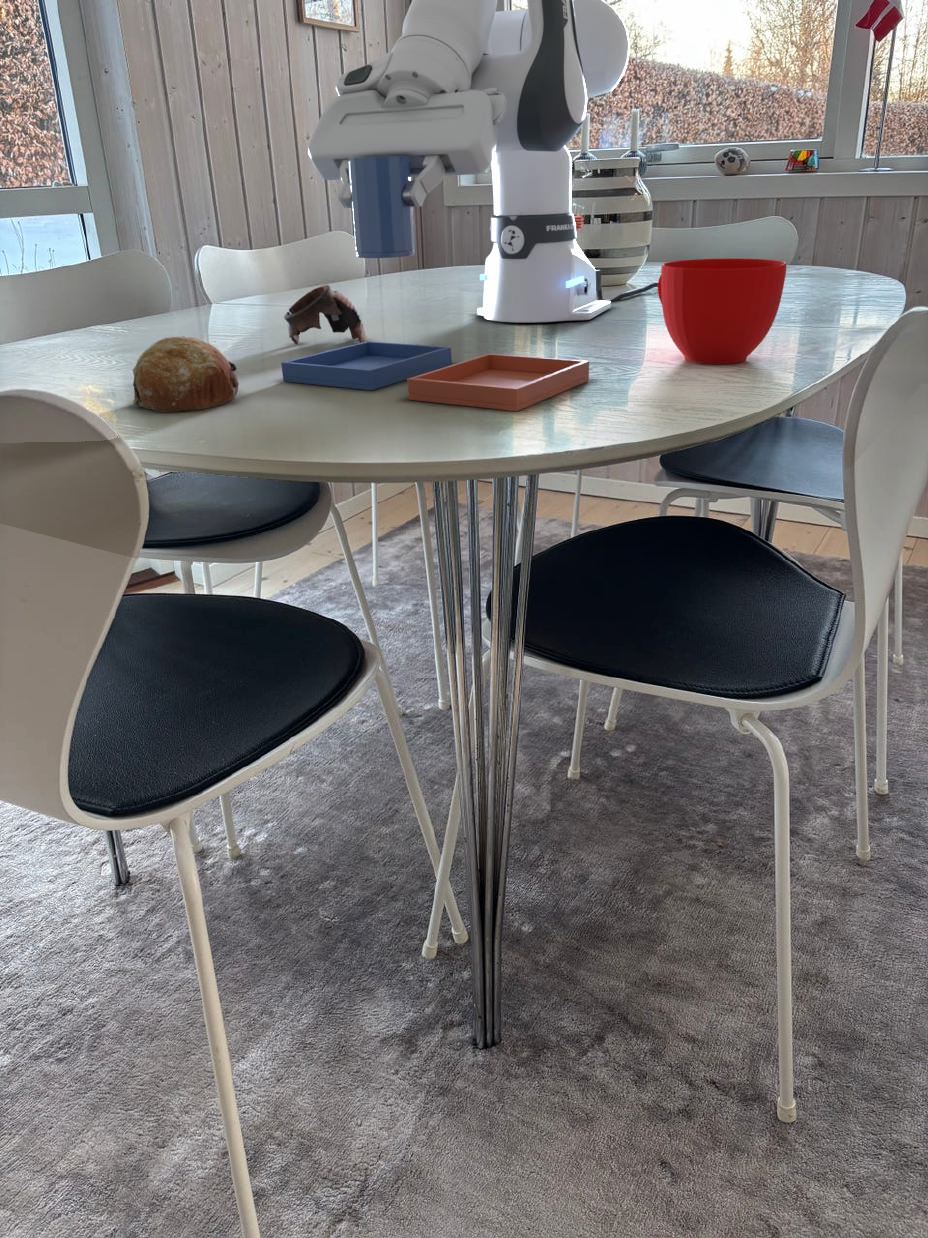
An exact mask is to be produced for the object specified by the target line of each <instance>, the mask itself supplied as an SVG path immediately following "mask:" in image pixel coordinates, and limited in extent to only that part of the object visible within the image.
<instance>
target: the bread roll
mask: <svg viewBox="0 0 928 1238" xmlns="http://www.w3.org/2000/svg"><path fill="white" fill-rule="evenodd" d="M236 371H237V367H236V365H235V364H234V363H232V362H231V361H230V360H228V359H227V358H226V356H225V355H224V354H223V353H222V352H221V351H220V350H219V349H218V348H217V347H215V346H214V345H212V344H210V343H207V342H206V341H203V340H201V339H199V338H195V337H192V336H188V337H187V336H184V335H181V336H165V337H162V338H160V339H158V340H156V341H155V342H153V343H152V344H151V345H149V346H148V347H147V348H146V349H145V350H144V351H143V352H142V353H141V355H139V357H138V359H137V361H136V363H135V366H134V368H133V369H132V374H133V382H132V383H133V384H132V387H133V391H134V395H133V398H134V399H133V401H132V404H133V405H134V406H138V407H141V408H144V409H148V410H153V411H155V412H160V413H178V412H179V413H181V412H182V413H183V412H192V411H199V410H205V409H209V408H214V407H218V406H221V405H224V404H227V403H229V402H232V401H233V400H234V399H235V398H236V395H237V394H238V392H239V385H240V384H239V380H238V376H237V375H236V373H235V372H236Z"/></svg>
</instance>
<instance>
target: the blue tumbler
mask: <svg viewBox="0 0 928 1238" xmlns="http://www.w3.org/2000/svg"><path fill="white" fill-rule="evenodd" d="M348 162H349V174H350V187H351V199H352V208H351V210H352V220H353V221H352V223H353V235H354V248H355V249H354V250H355V254H356V255H355V256H356V258H359V259H391V258H393V259H394V258H404V257H411V256H415V255H416V238H415V220H414V207H408V206H407V205H406V202H405V201H404V199H403V196H402V193H403V190H404V189H405V185H406V183H407V181H412V177H411V162H410V156H390V157H364V158H349V159H348Z"/></svg>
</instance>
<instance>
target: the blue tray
mask: <svg viewBox="0 0 928 1238" xmlns="http://www.w3.org/2000/svg"><path fill="white" fill-rule="evenodd" d="M452 361H453V360H452V347H451V346H439V345H425V344H411V343H399V342H397V343H396V342H384V341H383V342H382V341H371V340H369V341H368V340H366V341H365V342H362V343H354V344H351V345H346V346H342V347H339V348H334V349H330V350H326V351H322V352H319V353H314V354H310V355H305V356H302V357H298V358H294V359H290V360H286V361H282V362H281V363H280V365H281V372H282V373H281V374H282V382H287V383H295V384H297V383H298V384H305V385H306V384H307V385H316V386H324V387H325V386H326V387H337V388H343V389H344V388H345V389H355V390H362V391H374V390H377V389H380V388H384V387H387V386H390V385H394V384H396V383H400V382H403V381H407V380H408V379H409V378H412V377H415V376H418V375H421V374H425V373H428V372H431V371H434V370H437V369H441V368H444V367H447V366H450V365H453V362H452Z"/></svg>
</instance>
